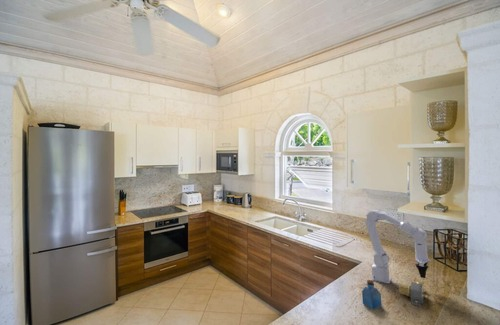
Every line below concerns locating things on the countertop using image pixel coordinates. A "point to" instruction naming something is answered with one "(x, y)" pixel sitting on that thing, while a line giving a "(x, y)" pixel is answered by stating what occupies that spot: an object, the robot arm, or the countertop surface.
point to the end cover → (405, 289)
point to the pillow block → (416, 293)
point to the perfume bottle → (371, 295)
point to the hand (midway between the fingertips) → (423, 275)
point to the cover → (420, 283)
